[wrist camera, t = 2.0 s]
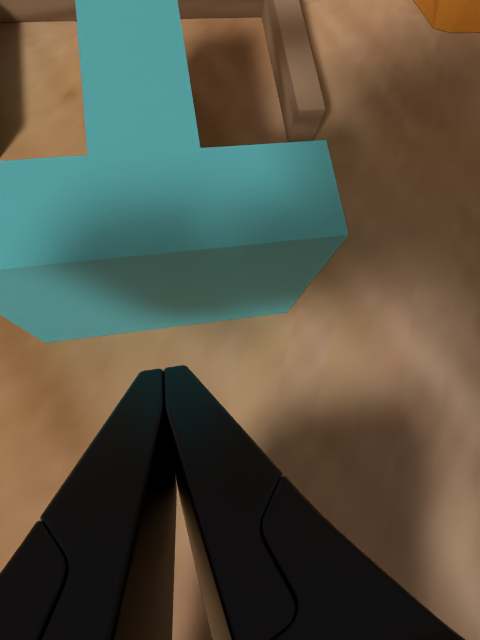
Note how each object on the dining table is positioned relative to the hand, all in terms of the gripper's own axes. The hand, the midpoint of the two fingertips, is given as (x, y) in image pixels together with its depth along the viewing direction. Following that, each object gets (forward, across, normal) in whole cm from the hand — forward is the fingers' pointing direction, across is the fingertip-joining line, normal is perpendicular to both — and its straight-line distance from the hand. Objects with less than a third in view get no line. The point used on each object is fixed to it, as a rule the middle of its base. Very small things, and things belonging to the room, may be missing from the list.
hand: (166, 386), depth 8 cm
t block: (+16, 0, +2) cm, 16 cm away
